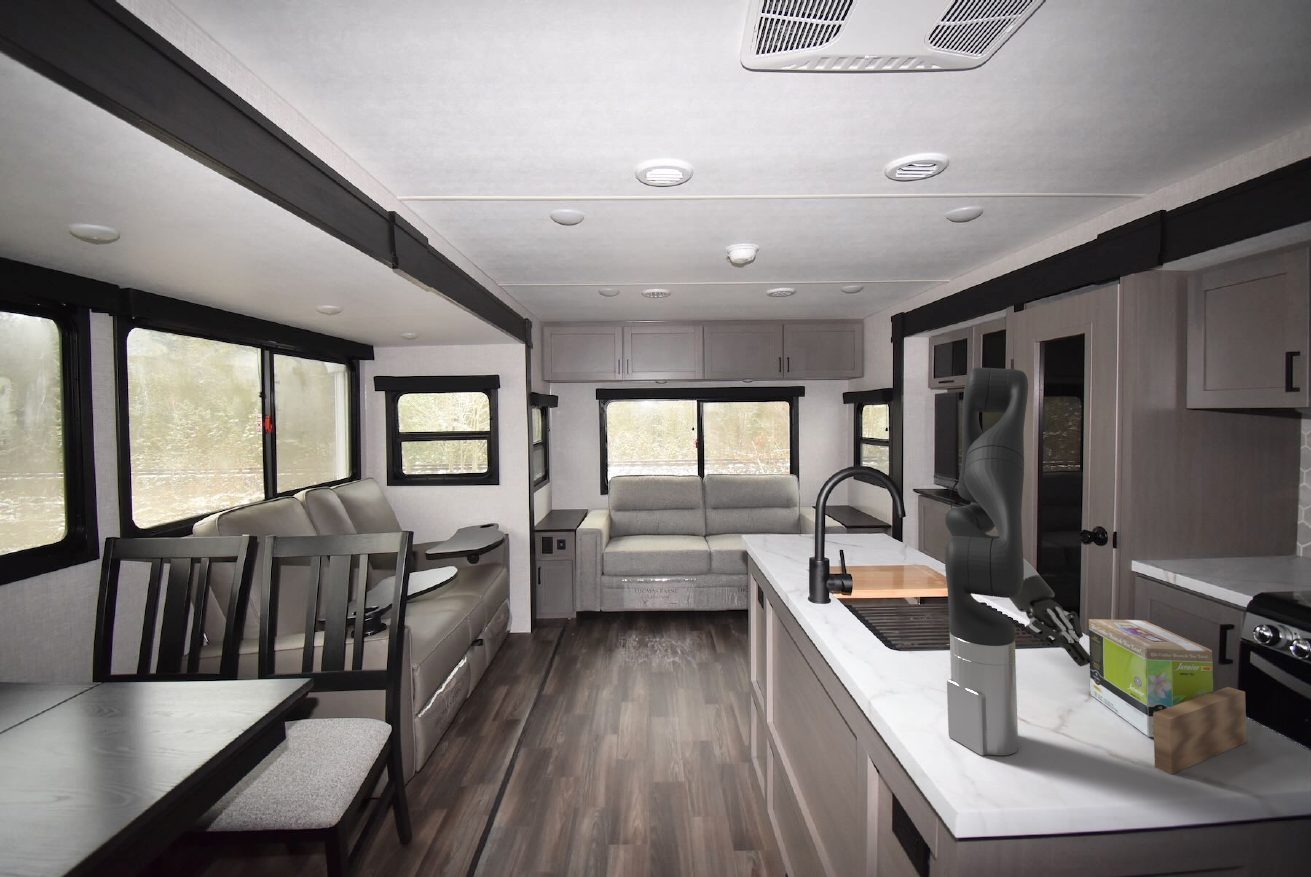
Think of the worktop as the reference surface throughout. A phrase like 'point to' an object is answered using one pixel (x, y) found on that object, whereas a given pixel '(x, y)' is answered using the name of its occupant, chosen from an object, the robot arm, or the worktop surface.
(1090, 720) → the worktop surface
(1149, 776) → the worktop surface
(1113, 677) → the tea box
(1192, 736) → the wooden block
